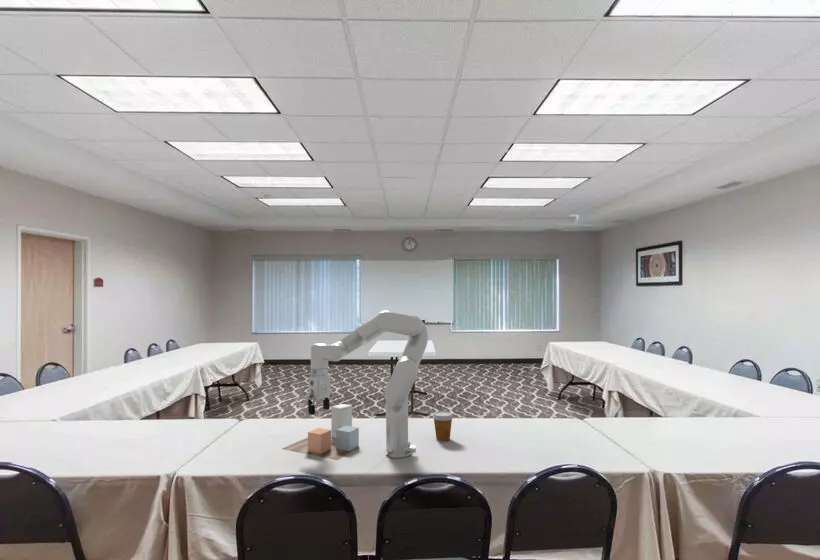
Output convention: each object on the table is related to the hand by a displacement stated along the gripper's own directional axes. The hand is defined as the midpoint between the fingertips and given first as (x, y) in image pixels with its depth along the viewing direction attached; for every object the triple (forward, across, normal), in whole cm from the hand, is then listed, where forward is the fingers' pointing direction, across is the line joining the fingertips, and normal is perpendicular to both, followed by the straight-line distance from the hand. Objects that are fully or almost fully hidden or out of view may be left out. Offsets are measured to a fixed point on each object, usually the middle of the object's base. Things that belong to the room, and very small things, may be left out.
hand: (319, 411), depth 181 cm
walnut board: (+18, +2, 0) cm, 18 cm away
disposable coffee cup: (+18, +40, -41) cm, 60 cm away
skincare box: (+18, +20, +3) cm, 27 cm away
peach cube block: (+16, 0, -1) cm, 16 cm away
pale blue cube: (+16, +8, -10) cm, 20 cm away
